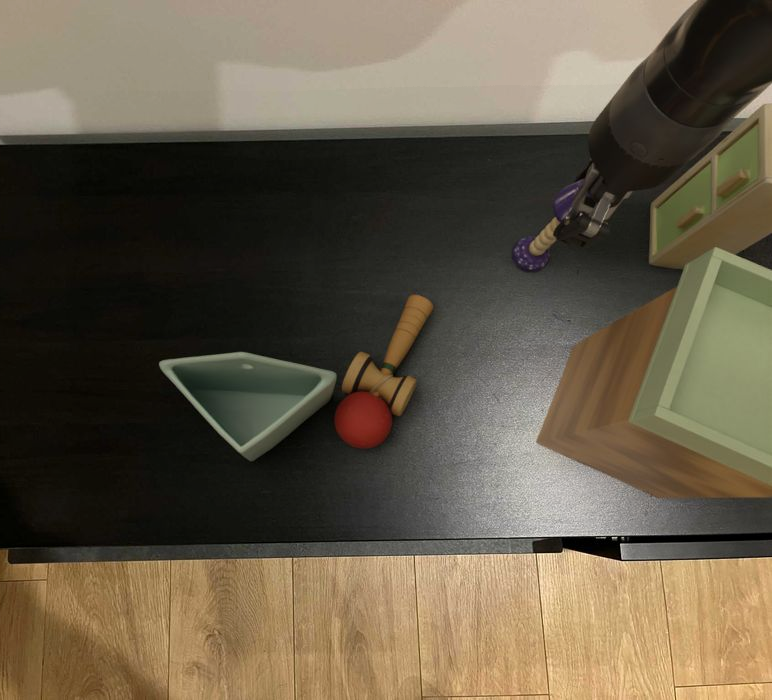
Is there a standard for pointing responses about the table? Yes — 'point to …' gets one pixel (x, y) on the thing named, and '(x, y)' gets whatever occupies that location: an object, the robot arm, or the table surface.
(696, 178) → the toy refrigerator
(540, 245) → the toy lamp
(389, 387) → the kendama
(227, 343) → the table surface
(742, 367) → the box
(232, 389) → the planter
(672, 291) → the stand
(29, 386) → the table surface
